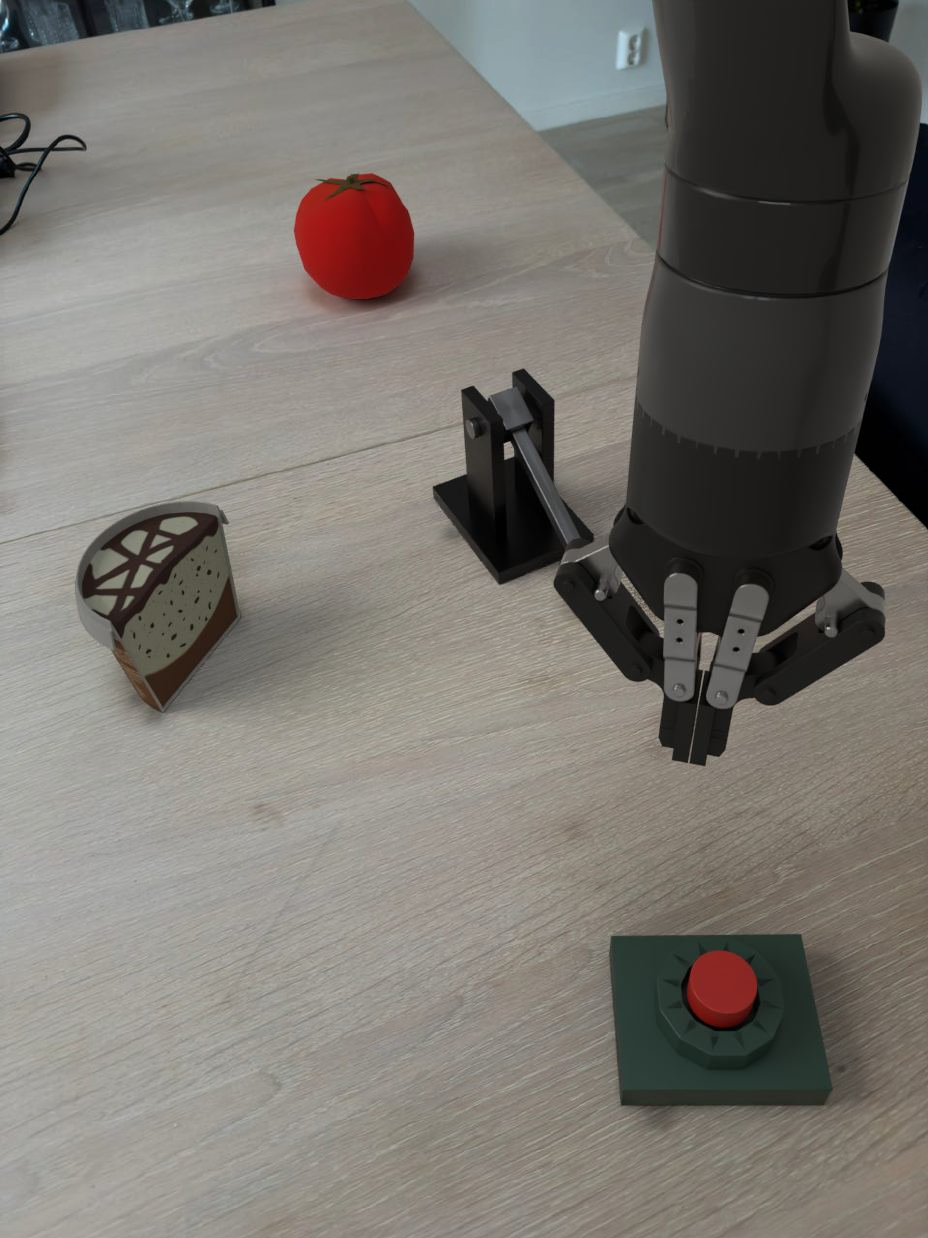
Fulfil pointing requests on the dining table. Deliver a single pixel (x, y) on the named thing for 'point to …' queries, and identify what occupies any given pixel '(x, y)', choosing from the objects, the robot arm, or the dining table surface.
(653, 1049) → the control block
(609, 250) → the dining table surface
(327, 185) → the tomato
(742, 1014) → the button
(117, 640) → the cake slice
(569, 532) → the lever
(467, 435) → the black bracket
